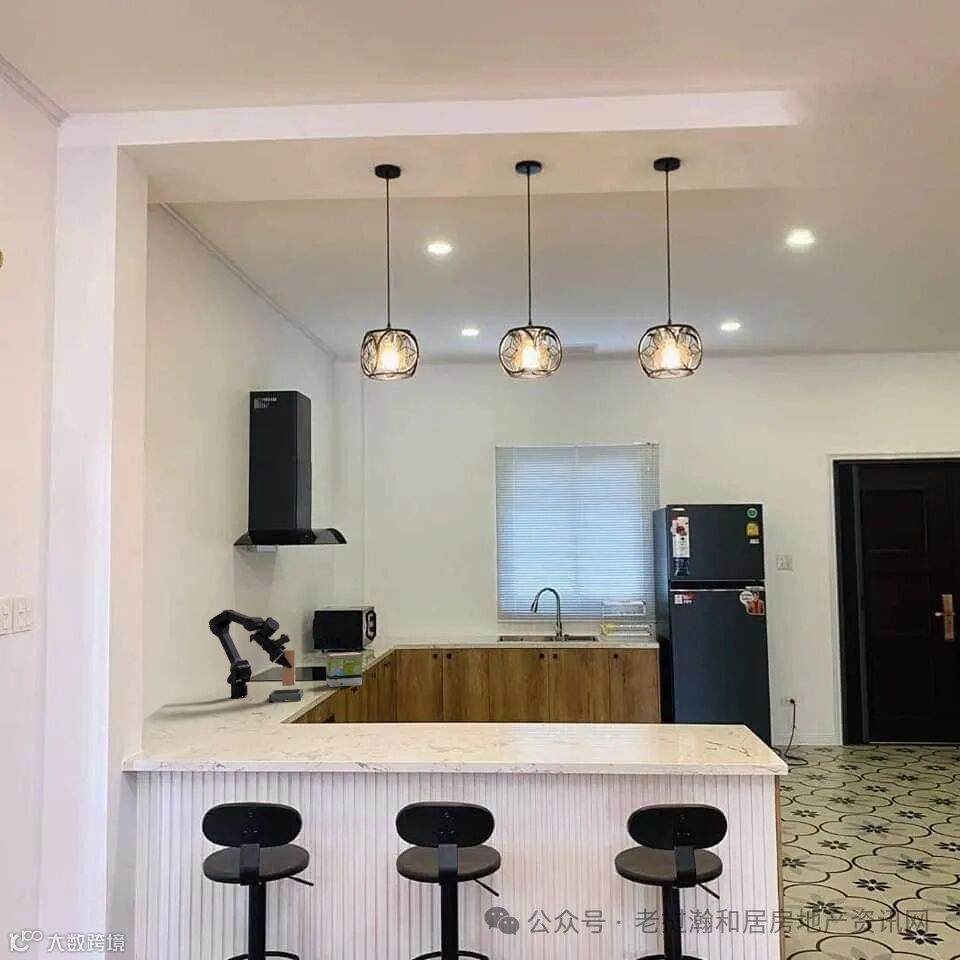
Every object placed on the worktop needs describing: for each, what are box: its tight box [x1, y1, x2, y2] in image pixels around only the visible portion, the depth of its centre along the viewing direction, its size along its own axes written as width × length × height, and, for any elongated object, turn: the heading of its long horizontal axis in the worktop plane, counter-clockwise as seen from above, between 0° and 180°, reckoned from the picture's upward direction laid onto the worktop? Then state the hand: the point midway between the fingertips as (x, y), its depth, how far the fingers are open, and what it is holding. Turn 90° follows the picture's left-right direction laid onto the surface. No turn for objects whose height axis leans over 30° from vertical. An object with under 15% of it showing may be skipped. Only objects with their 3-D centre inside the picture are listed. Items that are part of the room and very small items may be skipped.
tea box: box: [325, 651, 363, 688], centre depth 416 cm, size 15×10×15 cm
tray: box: [268, 688, 304, 702], centre depth 380 cm, size 13×13×3 cm
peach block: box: [281, 648, 297, 687], centre depth 383 cm, size 5×6×15 cm
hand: (291, 666), depth 383 cm, fingers closed on peach block, 6 cm apart
